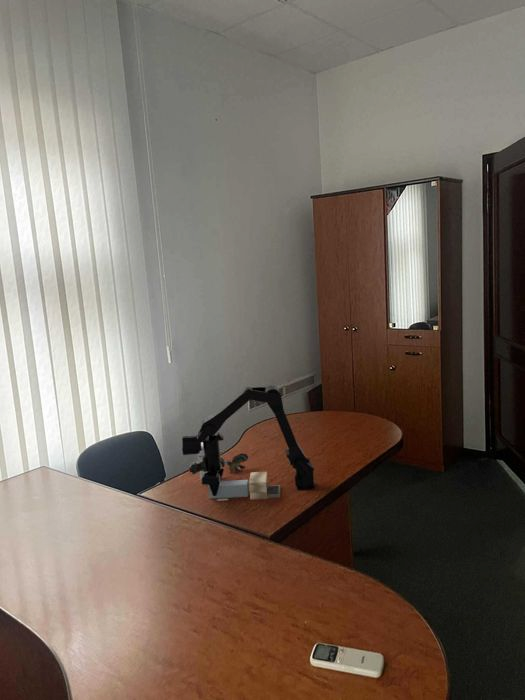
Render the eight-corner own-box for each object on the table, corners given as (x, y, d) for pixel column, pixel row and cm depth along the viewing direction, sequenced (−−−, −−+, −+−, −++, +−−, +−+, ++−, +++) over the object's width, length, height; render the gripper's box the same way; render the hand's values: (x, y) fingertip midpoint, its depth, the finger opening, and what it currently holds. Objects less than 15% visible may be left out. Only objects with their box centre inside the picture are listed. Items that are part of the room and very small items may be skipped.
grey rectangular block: (249, 491, 203) (247, 479, 202) (248, 496, 198) (247, 484, 198) (211, 493, 204) (210, 481, 203) (209, 498, 199) (208, 486, 198)
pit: (280, 487, 204) (280, 484, 204) (280, 497, 196) (279, 494, 196) (268, 488, 205) (267, 485, 204) (267, 497, 196) (266, 495, 196)
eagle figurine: (241, 472, 219) (252, 460, 226) (230, 458, 219) (242, 447, 226) (230, 479, 223) (241, 467, 231) (219, 465, 223) (231, 454, 231)
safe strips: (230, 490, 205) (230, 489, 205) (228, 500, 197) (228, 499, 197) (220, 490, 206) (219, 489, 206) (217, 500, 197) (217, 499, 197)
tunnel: (268, 487, 205) (266, 471, 204) (267, 498, 195) (265, 482, 194) (252, 488, 205) (250, 472, 204) (250, 499, 196) (248, 483, 195)
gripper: (194, 444, 208) (198, 483, 211) (185, 463, 190) (189, 505, 192) (223, 443, 208) (226, 482, 210) (217, 461, 189) (221, 503, 192)
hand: (215, 492), depth 201 cm, fingers closed on grey rectangular block, 4 cm apart
